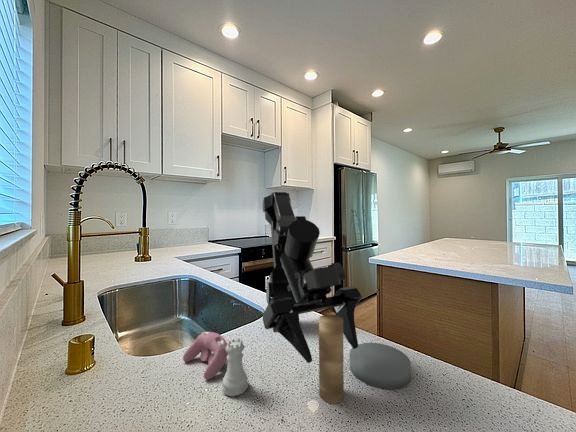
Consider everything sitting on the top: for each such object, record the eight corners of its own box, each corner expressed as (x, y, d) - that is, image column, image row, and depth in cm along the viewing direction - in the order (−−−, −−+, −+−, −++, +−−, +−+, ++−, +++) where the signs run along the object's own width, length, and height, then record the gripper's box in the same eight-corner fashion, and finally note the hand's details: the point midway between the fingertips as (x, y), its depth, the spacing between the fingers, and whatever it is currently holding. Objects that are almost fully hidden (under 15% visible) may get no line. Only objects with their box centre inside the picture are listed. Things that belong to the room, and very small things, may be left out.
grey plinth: (339, 370, 48) (339, 357, 48) (365, 348, 56) (365, 337, 56) (398, 398, 41) (398, 383, 41) (418, 368, 49) (418, 355, 49)
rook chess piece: (216, 392, 42) (215, 344, 43) (233, 377, 46) (233, 334, 46) (236, 401, 40) (236, 351, 40) (253, 384, 44) (253, 339, 44)
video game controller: (224, 382, 48) (237, 342, 50) (204, 381, 45) (219, 339, 47) (198, 362, 54) (211, 328, 57) (179, 360, 51) (194, 324, 54)
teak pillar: (314, 395, 42) (314, 319, 42) (328, 383, 45) (327, 312, 45) (335, 407, 39) (334, 326, 39) (348, 394, 42) (347, 318, 42)
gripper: (268, 251, 42) (302, 349, 32) (355, 245, 50) (403, 321, 40) (252, 287, 49) (276, 377, 39) (331, 277, 57) (367, 348, 47)
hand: (334, 354), depth 41 cm, fingers open, 9 cm apart
